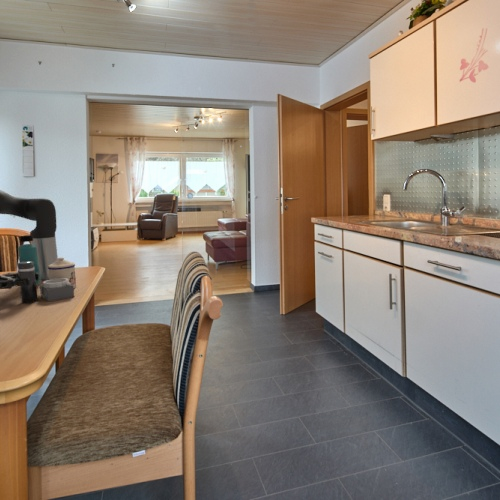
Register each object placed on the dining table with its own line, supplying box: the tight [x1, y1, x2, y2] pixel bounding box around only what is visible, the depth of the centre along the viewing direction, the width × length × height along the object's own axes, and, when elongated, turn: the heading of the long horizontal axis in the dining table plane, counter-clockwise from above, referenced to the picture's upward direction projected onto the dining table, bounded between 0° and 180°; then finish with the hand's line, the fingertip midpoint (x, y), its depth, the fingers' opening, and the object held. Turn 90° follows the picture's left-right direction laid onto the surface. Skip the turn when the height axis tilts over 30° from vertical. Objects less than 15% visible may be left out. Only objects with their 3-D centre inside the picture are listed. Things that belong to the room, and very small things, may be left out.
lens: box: [17, 261, 39, 304], centre depth 128 cm, size 5×5×13 cm
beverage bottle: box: [17, 234, 42, 286], centre depth 146 cm, size 6×7×20 cm
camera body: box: [39, 278, 75, 302], centre depth 134 cm, size 10×8×6 cm
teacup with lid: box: [48, 257, 77, 289], centre depth 146 cm, size 12×9×12 cm
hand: (34, 278), depth 128 cm, fingers open, 7 cm apart
